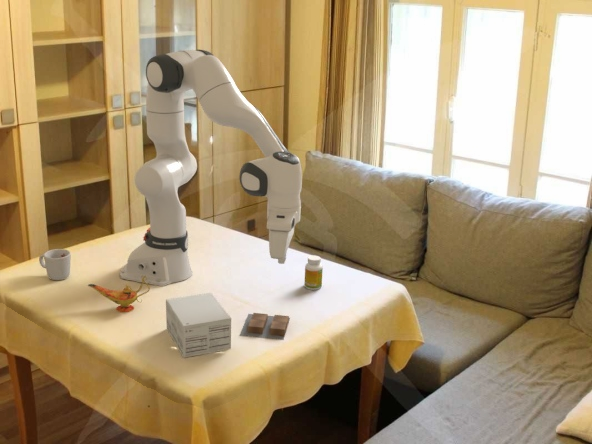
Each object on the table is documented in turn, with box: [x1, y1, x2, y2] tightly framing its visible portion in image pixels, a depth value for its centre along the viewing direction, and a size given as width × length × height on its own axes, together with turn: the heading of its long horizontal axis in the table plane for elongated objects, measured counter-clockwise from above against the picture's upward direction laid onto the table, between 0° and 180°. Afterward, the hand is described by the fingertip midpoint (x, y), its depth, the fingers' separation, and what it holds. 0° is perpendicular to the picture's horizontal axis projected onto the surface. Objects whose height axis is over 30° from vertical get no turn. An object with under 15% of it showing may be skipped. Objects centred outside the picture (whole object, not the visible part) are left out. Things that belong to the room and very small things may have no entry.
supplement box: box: [165, 292, 232, 359], centre depth 199 cm, size 17×13×9 cm
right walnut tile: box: [270, 314, 290, 336], centre depth 206 cm, size 4×2×8 cm
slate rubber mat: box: [239, 313, 291, 341], centre depth 208 cm, size 12×13×1 cm
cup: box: [39, 248, 72, 281], centre depth 233 cm, size 11×8×8 cm
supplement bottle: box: [304, 255, 324, 291], centre depth 233 cm, size 5×5×10 cm
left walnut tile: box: [248, 312, 269, 334], centre depth 207 cm, size 4×2×8 cm
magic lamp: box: [87, 275, 151, 314], centre depth 214 cm, size 7×18×11 cm, turn 85°
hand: (282, 261), depth 204 cm, fingers closed
